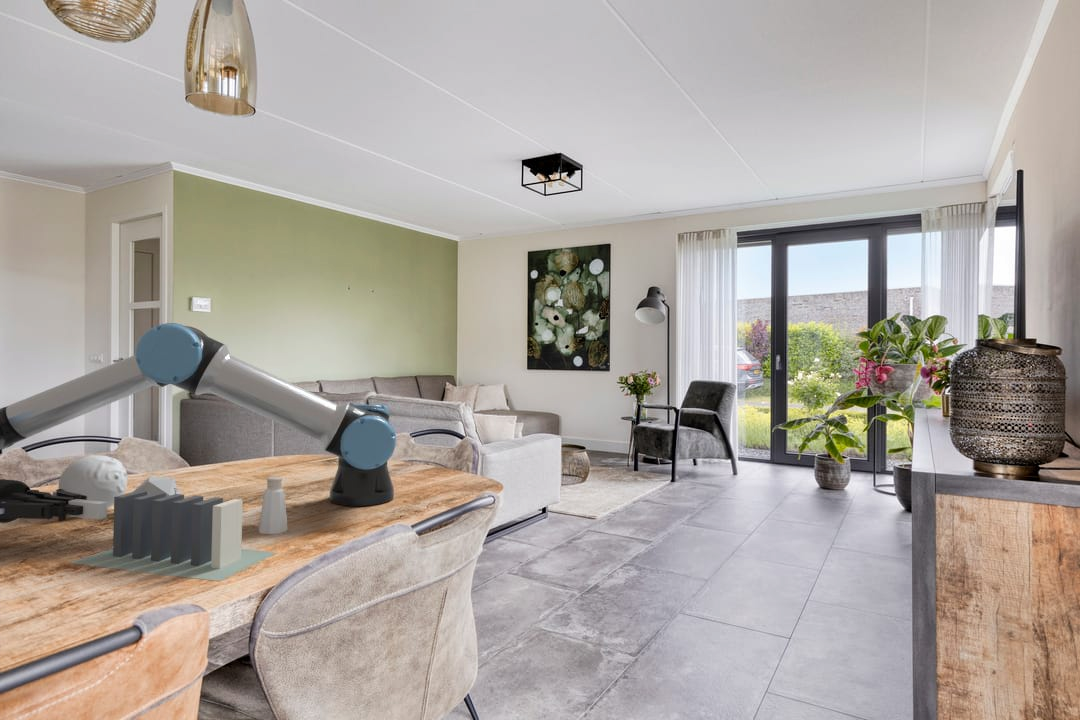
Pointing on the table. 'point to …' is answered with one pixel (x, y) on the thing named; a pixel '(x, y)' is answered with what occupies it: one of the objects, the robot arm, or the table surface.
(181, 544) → the domino
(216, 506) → the domino
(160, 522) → the domino
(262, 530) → the salt shaker
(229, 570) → the felt mat
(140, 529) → the domino
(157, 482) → the die
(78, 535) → the table surface
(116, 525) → the domino
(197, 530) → the domino
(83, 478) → the decorative ball
